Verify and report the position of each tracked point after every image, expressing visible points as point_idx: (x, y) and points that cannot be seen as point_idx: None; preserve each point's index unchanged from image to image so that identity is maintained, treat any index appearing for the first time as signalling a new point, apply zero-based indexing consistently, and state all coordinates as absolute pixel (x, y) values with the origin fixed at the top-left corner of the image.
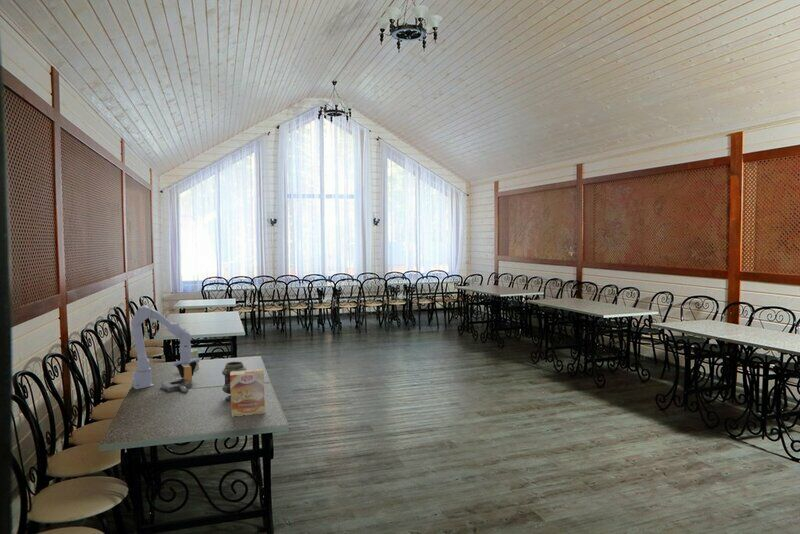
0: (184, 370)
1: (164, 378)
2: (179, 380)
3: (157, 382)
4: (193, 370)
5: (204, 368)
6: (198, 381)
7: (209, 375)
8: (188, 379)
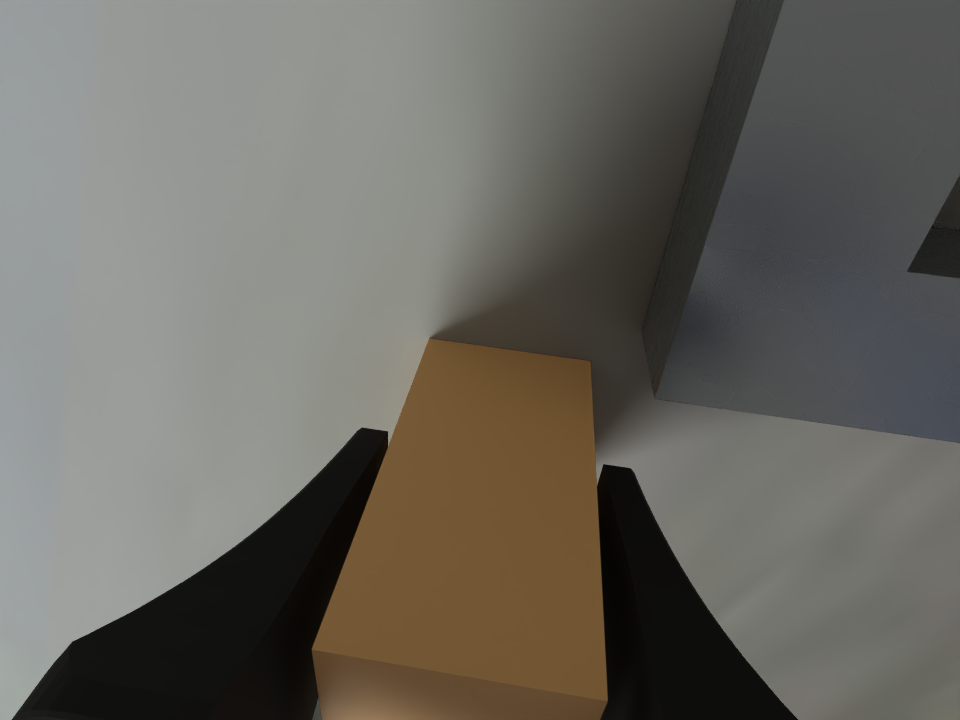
0: (596, 605)
1: None
2: (881, 302)
3: (873, 665)
4: (296, 514)
5: None
6: (339, 157)
7: (41, 388)
8: (502, 375)
